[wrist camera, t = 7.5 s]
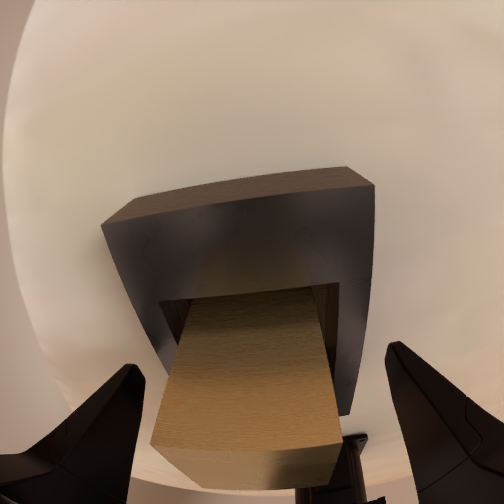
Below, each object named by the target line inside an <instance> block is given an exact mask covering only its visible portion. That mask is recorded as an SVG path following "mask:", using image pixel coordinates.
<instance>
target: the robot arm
mask: <svg viewBox="0 0 504 504" xmlns="http://www.w3.org/2000/svg"><path fill="white" fill-rule="evenodd" d="M385 367H386V371H387V376H388V381H389V386H390V391H391V396H392V401H393V404H394V407H395V411H396V414H397V417H398V420H399V424H400V427H401V431H402V434H403V438H404V441H405V445H406V449H407V452H408V456H409V460H410V464H411V468H412V472H413V476H414V481H415V485H416V490H417V493H418V494H417V495H418V500H419V504H504V423H503V422H501V421H500V420H498V419H497V418H495V417H494V416H492V415H491V414H489V413H488V412H487V411H485V410H484V409H482V408H481V407H480V406H479V405H477V404H476V403H475V402H474V401H473V400H471V399H470V398H469V397H466V395H465V394H464V393H463V392H462V391H461V390H459V389H458V388H457V387H456V386H455V385H453V384H452V383H451V382H450V381H449V380H447V379H446V378H445V377H444V376H443V375H441V374H440V373H439V372H438V371H437V370H435V369H434V368H433V367H432V366H431V365H429V364H428V363H427V362H426V361H424V360H423V359H422V358H421V357H420V356H418V355H417V354H416V353H415V352H413V351H412V350H411V349H410V348H408V347H407V346H406V345H405V344H403V343H402V342H401V341H396V342H391V343H389V345H388V348H387V352H386V356H385ZM145 384H146V381H145V377H144V375H143V374H142V372H141V371H140V369H139V368H138V366H137V365H136V364H125V365H124V366H123V367H122V368H121V369H120V370H119V371H117V372H116V373H115V374H114V375H113V376H112V377H111V378H110V379H109V380H108V381H107V382H105V383H104V384H103V385H102V386H101V387H100V388H99V389H98V390H97V391H96V392H95V393H94V394H92V395H91V396H90V397H89V398H88V399H87V400H86V401H85V402H84V403H83V404H82V405H81V406H79V407H78V408H77V409H76V410H75V411H74V412H73V413H72V414H71V415H70V416H69V417H68V418H67V419H65V420H64V421H63V422H62V423H61V424H60V425H59V426H58V427H56V428H55V429H54V430H53V431H52V432H51V433H49V434H48V435H47V436H45V437H44V438H43V439H41V440H40V441H39V442H37V443H36V444H35V445H33V446H32V447H31V448H29V449H28V450H26V451H25V452H22V453H19V454H4V455H0V504H126V501H127V494H128V488H129V482H130V476H131V470H132V464H133V458H134V453H135V448H136V442H137V437H138V432H139V428H140V423H141V418H142V411H143V401H144V392H145ZM367 440H368V436H367V434H361V435H356V436H351V437H346V438H343V444H342V447H341V450H340V453H339V456H338V459H337V462H336V465H335V467H334V470H333V473H332V476H331V478H330V481H329V483H328V485H321V486H314V487H305V488H295V500H296V501H295V502H296V504H386V500H385V496H383V497H380V498H378V499H377V500H373V501H369V502H367V498H366V491H365V484H364V478H363V472H362V466H361V460H360V454H361V452H362V450H363V448H364V446H365V444H366V442H367Z"/></svg>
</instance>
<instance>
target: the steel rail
mask: <svg viewBox="0 0 504 504" xmlns="http://www.w3.org/2000/svg"><path fill="white" fill-rule="evenodd" d="M374 222H375V185H374V184H372V183H371V182H370V181H368V180H367V179H365V178H364V177H362V176H361V175H359V174H358V173H356V172H355V171H353V170H352V169H350V168H349V167H347V166H346V167H334V168H322V169H312V170H302V171H293V172H284V173H276V174H269V175H261V176H254V177H247V178H240V179H234V180H227V181H221V182H215V183H209V184H204V185H198V186H193V187H187V188H182V189H177V190H172V191H167V192H162V193H157V194H153V195H148V196H144V197H139V198H135V199H133V200H132V201H130V202H129V203H128V204H127V205H125V206H124V207H123V208H121V209H120V210H119V211H118V212H116V213H115V214H114V215H113V216H111V217H110V218H109V219H108V220H106V221H105V222H104V223H103V224H101V227H102V230H103V233H104V236H105V239H106V242H107V244H108V247H109V250H110V252H111V255H112V258H113V260H114V263H115V265H116V268H117V270H118V273H119V275H120V278H121V280H122V282H123V285H124V287H125V289H126V292H127V294H128V296H129V298H130V301H131V303H132V305H133V307H134V309H135V311H136V314H137V316H138V318H139V320H140V322H141V324H142V326H143V328H144V330H145V332H146V334H147V336H148V338H149V340H150V342H151V344H152V346H153V348H154V350H155V351H156V353H157V355H158V357H159V359H160V361H161V362H162V364H163V366H164V368H165V370H166V371H167V373H168V375H169V374H170V371H171V367H172V364H173V361H174V357H175V354H176V351H177V348H178V345H179V341H180V338H181V335H182V332H183V329H184V326H185V323H186V320H187V316H188V313H189V310H190V307H191V301H190V299H191V298H202V297H213V296H224V295H234V294H244V293H254V292H263V291H272V290H280V289H289V288H297V287H305V286H313V285H320V284H325V349H326V354H327V359H328V364H329V368H330V373H331V378H332V383H333V388H334V394H335V399H336V404H337V410H338V415H339V417H340V416H345V415H349V413H350V409H351V405H352V401H353V397H354V392H355V387H356V383H357V378H358V373H359V368H360V362H361V357H362V351H363V345H364V338H365V331H366V324H367V317H368V309H369V300H370V290H371V279H372V266H373V249H374Z"/></svg>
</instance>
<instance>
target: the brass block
mask: <svg viewBox="0 0 504 504" xmlns="http://www.w3.org/2000/svg"><path fill="white" fill-rule="evenodd" d="M342 444H343V438H342V432H341V427H340V421H339V415H338V410H337V404H336V399H335V394H334V388H333V383H332V378H331V373H330V368H329V364H328V359H327V354H326V349H325V345H324V340H323V336H322V331H321V327H320V322H319V318H318V314H317V310H316V305H315V301H314V297H313V293H312V289H311V286H305V287H297V288H289V289H280V290H272V291H263V292H254V293H244V294H234V295H224V296H213V297H202V298H193V301H192V304H191V307H190V310H189V313H188V316H187V320H186V323H185V326H184V329H183V332H182V335H181V338H180V341H179V345H178V348H177V351H176V354H175V357H174V361H173V364H172V367H171V371H170V374H169V377H168V381H167V384H166V387H165V391H164V394H163V398H162V401H161V405H160V408H159V412H158V416H157V419H156V423H155V427H154V430H153V434H152V438H151V442H150V445H151V446H152V447H153V448H154V449H155V450H157V451H158V452H159V453H160V454H161V455H162V456H163V457H164V458H166V459H167V460H168V461H169V462H170V463H171V464H173V465H174V466H175V467H176V468H177V469H179V470H180V471H181V472H182V473H184V474H185V475H186V476H187V477H189V478H190V479H191V480H193V481H194V482H195V483H197V484H198V485H199V486H201V487H202V488H209V489H223V490H280V489H294V488H305V487H314V486H321V485H328V483H329V481H330V478H331V476H332V473H333V470H334V467H335V465H336V462H337V459H338V456H339V453H340V450H341V447H342Z"/></svg>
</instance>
